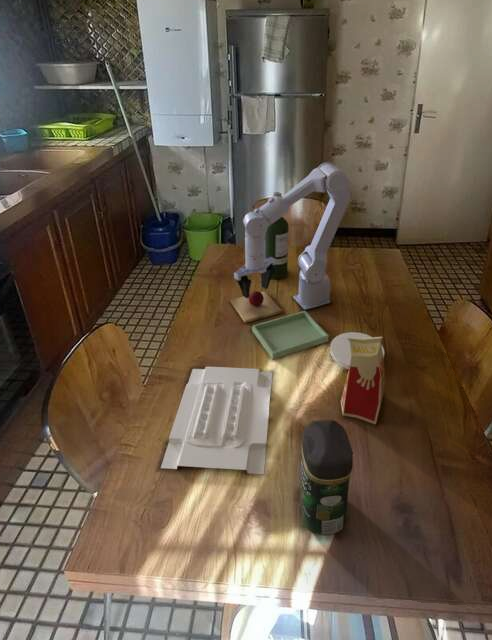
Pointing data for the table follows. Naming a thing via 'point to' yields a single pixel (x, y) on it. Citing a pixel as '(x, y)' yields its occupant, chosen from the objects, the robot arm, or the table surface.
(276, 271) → the wine bottle
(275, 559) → the table surface
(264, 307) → the board
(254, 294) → the plum
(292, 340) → the tray
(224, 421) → the tray
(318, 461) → the coffee jar
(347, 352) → the plastic lid
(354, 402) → the milk carton
